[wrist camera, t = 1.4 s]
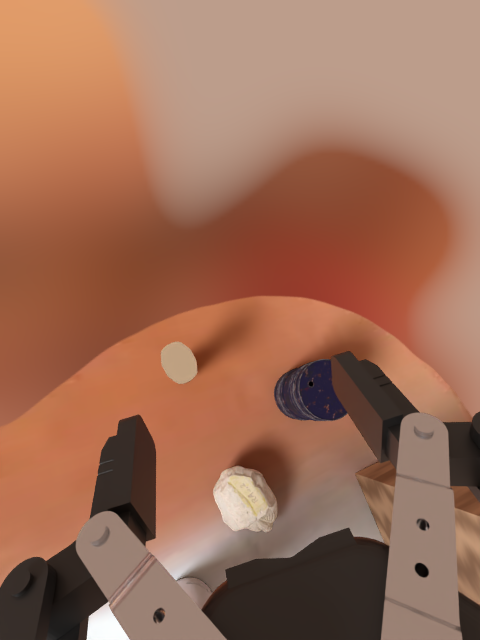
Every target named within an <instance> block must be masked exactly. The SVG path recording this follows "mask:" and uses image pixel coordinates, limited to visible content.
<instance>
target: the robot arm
mask: <svg viewBox="0 0 480 640" xmlns="http://www.w3.org/2000/svg"><path fill="white" fill-rule="evenodd" d="M331 370H332V384H333V388H334V391H335V394H336V396H337V397H338V399H339V401H340V402H341V404H342V405H343V407H344V408H345V410H346V411H347V413H348V414H349V416H350V417H351V419H352V421H353V422H354V424H355V425H356V427H357V428H358V430H359V431H360V433H361V434H362V436H363V437H364V439H365V440H366V442H367V444H368V445H369V447H370V448H371V450H372V451H373V453H374V454H375V456H376V457H377V459H378V460H379V462H380V463H383V462H386V461H389V460H390V462H391V463H392V464H393V466H394V467H395V469H396V481H395V491H394V502H393V513H392V523H391V534H390V545H387V544H385V543H382V542H380V541H377V540H374V539H370V538H365V537H353V535H352V533H351V531H350V529H349V528H346V529H343V530H340V531H337V532H334V533H332V534H329V535H326V536H323V537H320V538H318V539H317V540H315V541H314V542H313V543H311V544H310V545H308V546H307V547H306V548H304V549H303V550H301V551H300V552H299V553H297V554H296V555H295V556H293V557H291V558H276V559H255V560H252V561H249V562H246V563H243V564H241V565H238V566H235V567H232V568H229V569H226V577H227V580H226V581H225V582H224V583H222V584H221V585H220V586H219V587H218V588H217V589H216V590H215V591H214V592H213V593H212V592H211V590H210V589H209V587H208V586H207V585H206V584H205V583H204V582H203V581H201V580H199V579H196V578H191V577H187V578H182V579H180V580H178V581H175V579H174V578H173V577H172V576H171V575H170V574H169V572H168V571H167V570H166V569H165V568H164V567H163V566H162V564H161V563H160V562H159V561H158V560H157V559H156V558H155V557H154V556H153V555H152V554H151V553H150V552H149V551H148V550H147V549H146V547H145V544H146V541H149V540H152V539H155V538H156V449H155V444H154V441H153V438H152V436H151V435H150V433H149V431H148V429H147V427H146V425H145V423H144V421H143V419H142V417H141V416H140V415H136V416H132V417H129V418H126V419H122V420H120V421H119V424H118V431H117V435H116V436H113V437H109V438H108V440H107V442H106V444H105V445H104V447H103V449H102V451H101V457H100V466H99V469H98V476H97V480H96V486H95V492H94V498H93V503H92V509H91V515H90V519H89V520H88V521H87V522H86V523H85V525H84V526H83V527H82V529H81V530H80V532H79V534H78V537H77V540H76V541H74V542H73V543H72V544H71V545H70V546H68V547H67V548H65V549H64V550H62V551H61V552H59V553H58V554H56V555H55V556H53V557H52V558H50V559H49V560H47V561H45V560H44V559H43V558H40V557H33V558H29V559H27V560H25V561H23V562H22V563H20V564H19V565H18V566H16V567H15V568H14V569H13V570H12V571H11V572H10V574H9V575H8V576H7V577H6V579H5V580H4V582H3V583H2V585H1V587H0V640H86V639H87V629H88V618H89V616H90V615H91V614H92V613H94V612H95V611H96V610H98V609H99V608H100V607H102V606H103V605H104V604H106V603H107V602H108V601H109V603H110V604H109V607H110V609H111V611H112V613H113V614H114V616H115V617H116V619H117V620H118V622H119V623H120V625H121V627H122V628H123V630H124V631H125V633H126V634H127V636H128V637H129V639H130V640H480V605H479V604H477V603H476V602H474V601H473V600H471V599H470V598H468V597H467V596H465V595H464V594H462V593H461V592H459V591H458V577H457V554H456V531H455V508H454V493H453V489H452V488H451V487H450V486H467V487H468V488H469V489H470V491H471V492H472V493H473V495H474V496H475V497H476V498H477V500H478V501H479V502H480V412H478V413H476V414H475V416H474V417H473V419H472V422H450V423H449V422H441V421H440V420H439V419H438V418H436V417H434V416H432V415H429V414H426V413H420V412H419V411H418V410H417V409H416V408H415V407H414V406H413V405H412V404H411V403H410V401H409V400H408V399H407V398H406V397H405V396H404V395H403V394H402V393H401V391H400V390H399V389H398V388H397V387H396V386H395V385H394V384H392V381H391V380H390V379H389V378H388V377H387V376H386V375H385V374H384V373H383V371H382V370H381V369H380V368H379V367H378V366H377V365H375V364H373V363H371V362H370V361H368V360H366V359H365V360H362V361H358V360H357V359H356V357H355V356H354V355H353V354H352V353H351V352H350V351H347V352H344V353H341V354H337V355H334V356H332V357H331Z"/></svg>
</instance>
